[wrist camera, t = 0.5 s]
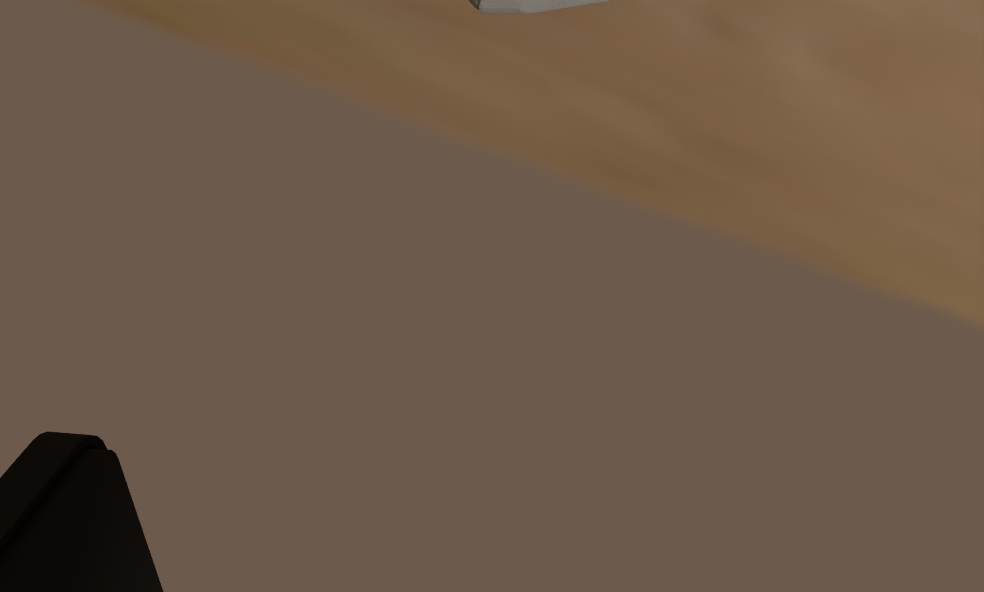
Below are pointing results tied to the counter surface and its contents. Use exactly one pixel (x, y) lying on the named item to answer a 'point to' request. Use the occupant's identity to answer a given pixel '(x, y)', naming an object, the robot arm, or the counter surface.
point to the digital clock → (526, 5)
